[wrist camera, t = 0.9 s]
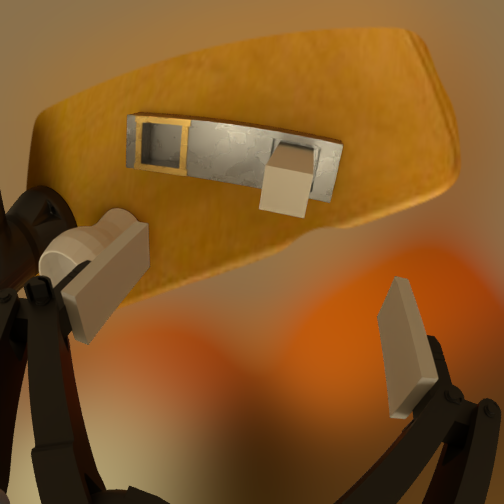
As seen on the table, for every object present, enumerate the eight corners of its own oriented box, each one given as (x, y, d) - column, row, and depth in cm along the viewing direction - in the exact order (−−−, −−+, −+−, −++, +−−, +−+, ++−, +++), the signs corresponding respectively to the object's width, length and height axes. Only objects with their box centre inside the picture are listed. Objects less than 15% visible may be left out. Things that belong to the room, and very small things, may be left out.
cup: (90, 197, 46) (26, 241, 33) (148, 201, 44) (87, 252, 31) (101, 255, 51) (49, 308, 38) (155, 264, 50) (107, 326, 37)
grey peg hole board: (137, 161, 42) (125, 167, 39) (139, 112, 38) (126, 115, 35) (329, 194, 39) (329, 203, 36) (341, 140, 36) (343, 145, 33)
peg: (275, 172, 38) (258, 208, 28) (280, 141, 36) (265, 165, 26) (307, 179, 38) (304, 218, 28) (313, 147, 36) (313, 174, 26)
